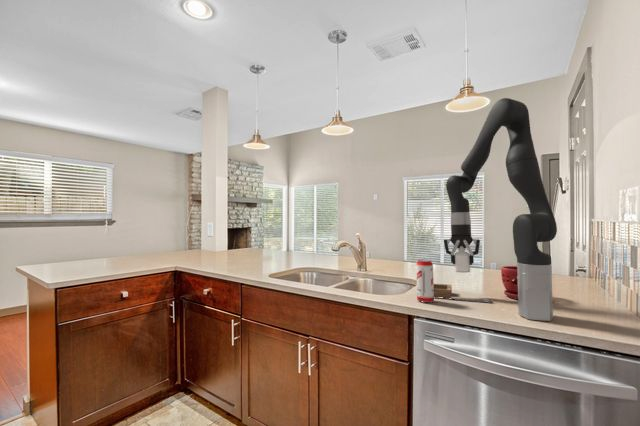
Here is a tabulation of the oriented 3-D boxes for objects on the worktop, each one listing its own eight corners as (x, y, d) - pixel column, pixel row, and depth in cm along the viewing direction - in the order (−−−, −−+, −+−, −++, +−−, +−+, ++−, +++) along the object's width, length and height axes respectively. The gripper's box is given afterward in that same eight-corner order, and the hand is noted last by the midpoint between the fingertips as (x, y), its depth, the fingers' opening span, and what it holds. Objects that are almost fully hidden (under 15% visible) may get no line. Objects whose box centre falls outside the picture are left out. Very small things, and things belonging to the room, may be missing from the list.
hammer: (493, 303, 117) (493, 294, 117) (427, 298, 127) (426, 289, 127) (490, 295, 128) (490, 287, 128) (429, 291, 138) (429, 283, 138)
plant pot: (549, 301, 118) (548, 269, 119) (513, 301, 119) (513, 270, 119) (526, 293, 131) (526, 264, 132) (495, 293, 132) (494, 265, 132)
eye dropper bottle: (468, 273, 125) (467, 243, 126) (453, 272, 129) (452, 243, 129) (471, 271, 129) (470, 242, 129) (457, 270, 132) (455, 242, 133)
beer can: (431, 299, 125) (430, 259, 125) (435, 303, 118) (434, 261, 119) (415, 299, 125) (414, 259, 125) (419, 303, 119) (417, 261, 119)
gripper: (441, 224, 129) (443, 265, 128) (480, 223, 123) (482, 266, 122) (442, 224, 136) (443, 263, 135) (479, 223, 130) (481, 263, 129)
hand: (462, 264), depth 129 cm, fingers closed on eye dropper bottle, 5 cm apart
